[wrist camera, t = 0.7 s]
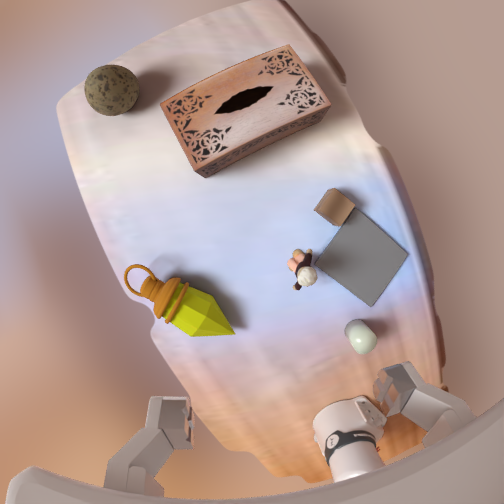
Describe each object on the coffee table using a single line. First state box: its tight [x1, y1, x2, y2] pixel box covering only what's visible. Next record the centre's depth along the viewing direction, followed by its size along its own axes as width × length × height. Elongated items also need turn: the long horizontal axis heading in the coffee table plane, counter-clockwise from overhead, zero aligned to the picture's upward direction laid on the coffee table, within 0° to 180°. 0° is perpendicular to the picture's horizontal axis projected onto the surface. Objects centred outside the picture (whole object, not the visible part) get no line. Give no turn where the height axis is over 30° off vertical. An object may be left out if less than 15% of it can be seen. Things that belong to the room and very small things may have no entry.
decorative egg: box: [85, 65, 139, 116], centre depth 42 cm, size 11×11×15 cm
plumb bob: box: [124, 264, 235, 337], centre depth 51 cm, size 9×9×25 cm
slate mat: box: [315, 208, 408, 307], centre depth 53 cm, size 16×14×1 cm
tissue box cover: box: [160, 45, 332, 178], centre depth 46 cm, size 26×14×10 cm, turn 118°
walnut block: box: [314, 188, 355, 226], centre depth 50 cm, size 5×5×5 cm
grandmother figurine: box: [287, 249, 317, 290], centre depth 48 cm, size 8×4×13 cm, turn 172°
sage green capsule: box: [345, 319, 377, 354], centre depth 53 cm, size 5×5×7 cm
